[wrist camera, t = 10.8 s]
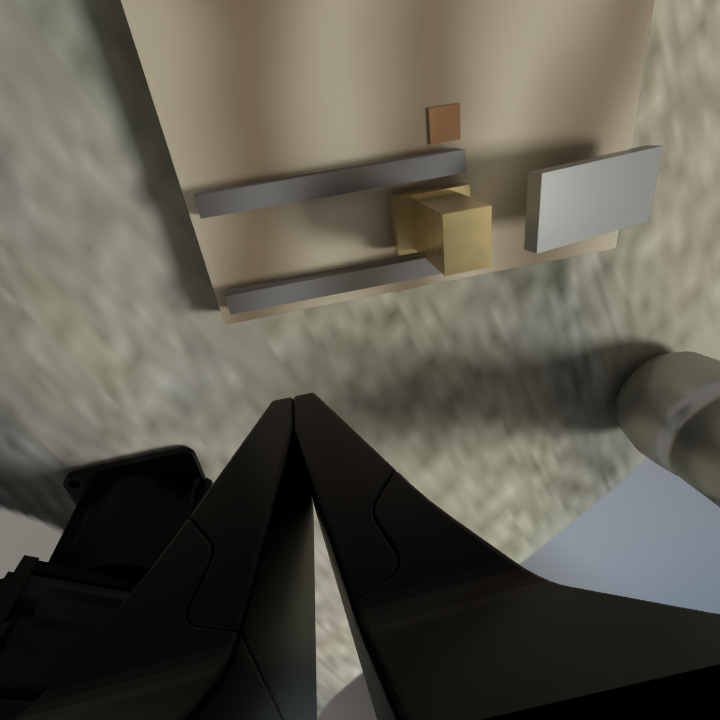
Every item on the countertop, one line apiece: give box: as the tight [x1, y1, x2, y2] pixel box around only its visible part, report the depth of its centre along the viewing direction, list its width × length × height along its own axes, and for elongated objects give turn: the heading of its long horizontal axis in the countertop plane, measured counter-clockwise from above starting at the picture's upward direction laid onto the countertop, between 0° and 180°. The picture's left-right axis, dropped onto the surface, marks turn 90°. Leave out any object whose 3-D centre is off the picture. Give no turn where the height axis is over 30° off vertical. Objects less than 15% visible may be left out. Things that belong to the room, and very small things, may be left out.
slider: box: [389, 182, 492, 276], centre depth 16 cm, size 3×2×4 cm
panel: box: [121, 0, 654, 325], centre depth 15 cm, size 18×18×4 cm
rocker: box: [524, 146, 663, 254], centre depth 17 cm, size 6×3×1 cm, turn 97°
